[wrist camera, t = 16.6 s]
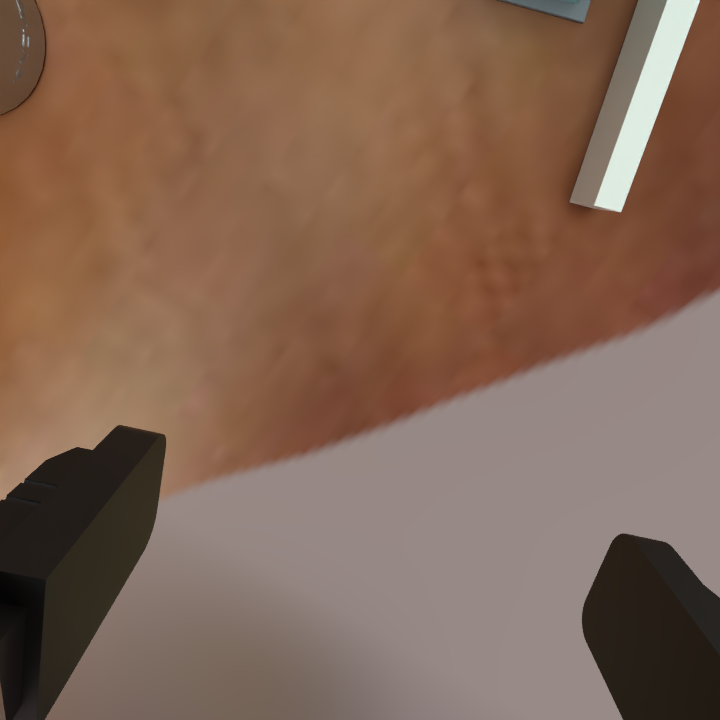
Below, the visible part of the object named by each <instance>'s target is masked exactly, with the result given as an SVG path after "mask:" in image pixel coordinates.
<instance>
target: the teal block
mask: <svg viewBox="0 0 720 720" xmlns="http://www.w3.org/2000/svg"><path fill="white" fill-rule="evenodd" d="M563 1H567V2H570V3H574V4H577V3H579V2H580V1H581V0H563Z"/></svg>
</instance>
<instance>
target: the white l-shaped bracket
mask: <svg viewBox="0 0 720 720" xmlns="http://www.w3.org/2000/svg"><path fill="white" fill-rule="evenodd" d="M498 1H502V2H505V3H509V4H513V5H516V6H520V7H524V8H527V9H531V10H535V11H538V12H542V13H546V14H549V15H553V16H556V17H560V18H564V19H567V20H571V21H575V22H578V23H583V22H584V20H585V17H586V14H587V10H588V7H589V4H590V1H591V0H581V1H580V2H579V3H577V4H574V3H570V2H567V1H563V0H498ZM699 2H700V0H638V3H637V6H636V8H635V11H634V14H633V17H632V20H631V23H630V26H629V29H628V32H627V35H626V38H625V41H624V43H623V46H622V49H621V52H620V55H619V58H618V61H617V64H616V67H615V70H614V73H613V76H612V79H611V81H610V84H609V87H608V90H607V93H606V96H605V99H604V102H603V105H602V108H601V111H600V114H599V116H598V119H597V122H596V125H595V128H594V131H593V134H592V137H591V140H590V143H589V146H588V149H587V151H586V154H585V157H584V160H583V163H582V166H581V169H580V172H579V175H578V178H577V181H576V184H575V186H574V189H573V192H572V195H571V198H570V201H569V202H570V203H574V204H578V205H582V206H586V207H590V208H595V209H602V210H609V211H616V212H621V211H622V208H623V205H624V203H625V200H626V197H627V195H628V192H629V189H630V187H631V184H632V181H633V179H634V176H635V173H636V170H637V168H638V165H639V162H640V160H641V157H642V154H643V152H644V149H645V146H646V144H647V141H648V138H649V136H650V133H651V130H652V128H653V125H654V122H655V120H656V117H657V114H658V112H659V109H660V106H661V104H662V101H663V98H664V95H665V93H666V90H667V87H668V85H669V82H670V79H671V77H672V74H673V71H674V69H675V66H676V63H677V61H678V58H679V55H680V53H681V50H682V47H683V45H684V42H685V39H686V37H687V34H688V31H689V29H690V26H691V23H692V20H693V18H694V15H695V12H696V10H697V7H698V4H699Z"/></svg>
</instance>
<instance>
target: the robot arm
mask: <svg viewBox="0 0 720 720" xmlns="http://www.w3.org/2000/svg"><path fill="white" fill-rule="evenodd" d="M44 56H45V37H44V29H43V25H42V20H41V16H40V12H39V10H38V8H37V5H36V3H35V1H34V0H0V114H4V113H6V112H8V111H10V110H12V109H14V108H16V107H17V106H18V105H19V104H20V103H22V102H23V101H24V100H25V99H26V98H27V97H28V96H29V95H30V93H31V92H32V90H33V89H34V87H35V86H36V84H37V82H38V79H39V77H40V74H41V71H42V69H43V62H44ZM165 450H166V437H165V435H164V434H160V433H155V432H151V431H146V430H141V429H137V428H132V427H127V426H123V425H118V426H117V427H115V428H114V429H113V430H112V431H111V432H110V433H109V434H108V435H107V436H106V437H105V438H104V439H103V440H102V441H101V442H100V443H99V444H98V445H97V446H96V447H95V448H94V449H93V450H89V449H84V448H79V447H76V448H74V449H71V450H69V451H66V452H64V453H62V454H59V455H57V456H55V457H52V458H50V459H48V460H46V461H45V462H44V463H42V464H41V465H40V466H39V467H38V468H37V469H36V470H35V471H34V472H32V473H31V474H30V475H29V476H28V477H27V478H26V479H25V481H24V483H20V484H19V485H18V486H17V487H16V488H14V489H13V490H12V491H11V492H10V493H9V494H8V495H7V497H6V499H5V500H1V501H0V720H45V718H46V717H47V715H48V713H49V712H50V709H51V708H52V706H53V705H54V703H55V701H56V700H57V698H58V696H59V694H60V693H61V691H62V689H63V688H64V686H65V684H66V683H67V681H68V679H69V678H70V676H71V674H72V672H73V671H74V669H75V667H76V666H77V664H78V662H79V661H80V659H81V657H82V656H83V654H84V652H85V650H86V649H87V647H88V645H89V644H90V642H91V640H92V639H93V637H94V635H95V633H96V632H97V630H98V628H99V626H100V625H101V623H102V622H103V620H104V618H105V616H106V615H107V613H108V611H109V610H110V608H111V606H112V605H113V603H114V601H115V599H116V598H117V596H118V594H119V593H120V591H121V589H122V588H123V586H124V584H125V582H126V581H127V579H128V577H129V575H130V574H131V572H132V571H133V569H134V567H135V565H136V564H137V562H138V560H139V559H140V556H141V555H142V554H143V552H144V550H145V548H146V546H147V544H148V541H149V539H150V536H151V533H152V530H153V526H154V523H155V519H156V514H157V507H158V500H159V493H160V486H161V479H162V472H163V464H164V457H165ZM582 626H583V627H582V628H583V633H584V637H585V640H586V642H587V644H588V647H589V649H590V651H591V653H592V655H593V657H594V659H595V661H596V663H597V665H598V668H599V669H600V672H601V674H602V676H603V678H604V680H605V682H606V684H607V686H608V689H609V691H610V693H611V695H612V697H613V699H614V701H615V703H616V705H617V708H618V709H619V712H620V714H621V715H622V718H623V720H720V598H719V597H718V596H717V595H716V594H714V593H713V592H712V591H711V590H709V589H708V588H707V587H706V586H705V585H703V584H702V582H701V581H700V580H699V579H698V578H697V576H696V575H695V574H694V573H693V571H692V570H691V569H690V568H689V567H688V565H687V564H686V563H685V562H684V561H683V559H682V558H681V557H680V556H679V555H678V553H677V552H676V551H675V550H674V549H673V547H671V546H670V545H669V544H668V543H666V542H662V541H657V540H653V539H648V538H644V537H639V536H634V535H629V534H620V535H618V536H617V537H616V538H615V539H614V540H613V541H612V543H611V545H610V547H609V550H608V551H607V554H606V556H605V558H604V560H603V563H602V565H601V567H600V569H599V571H598V574H597V576H596V578H595V580H594V582H593V585H592V587H591V589H590V591H589V594H588V596H587V598H586V601H585V603H584V607H583V612H582Z"/></svg>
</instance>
